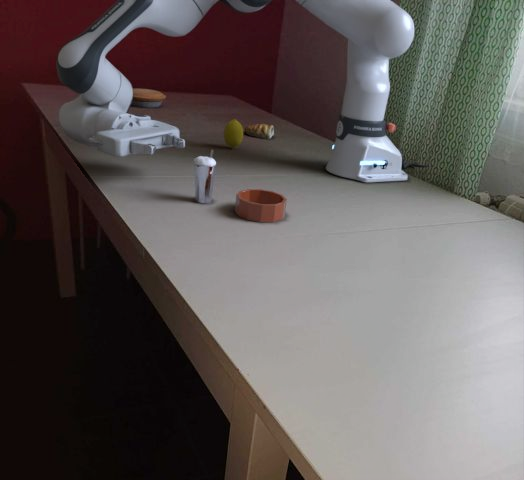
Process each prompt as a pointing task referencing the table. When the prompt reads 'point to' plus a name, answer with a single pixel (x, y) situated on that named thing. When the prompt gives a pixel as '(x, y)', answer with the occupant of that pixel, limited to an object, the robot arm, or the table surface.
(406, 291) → the table surface
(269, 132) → the pastry
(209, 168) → the milkshake
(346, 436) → the table surface
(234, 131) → the lemon
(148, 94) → the pie
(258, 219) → the orange round shallow bowl
